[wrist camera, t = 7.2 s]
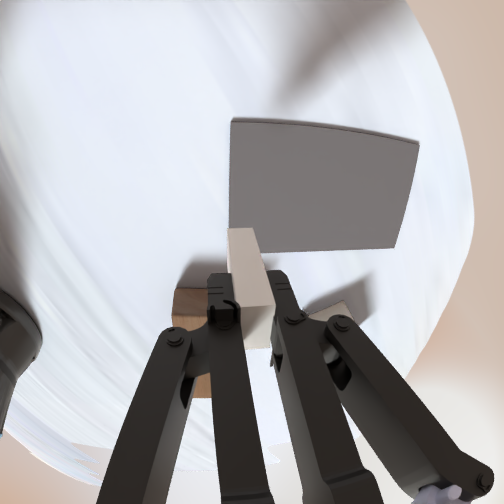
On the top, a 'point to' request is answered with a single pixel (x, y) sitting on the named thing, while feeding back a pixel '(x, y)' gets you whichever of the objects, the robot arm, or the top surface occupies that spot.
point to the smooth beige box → (331, 312)
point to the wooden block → (192, 324)
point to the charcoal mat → (318, 186)
